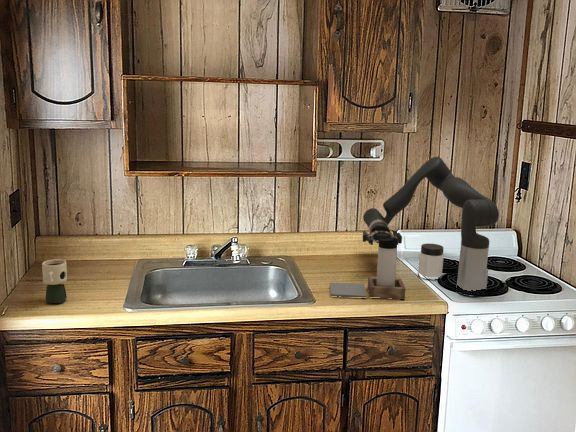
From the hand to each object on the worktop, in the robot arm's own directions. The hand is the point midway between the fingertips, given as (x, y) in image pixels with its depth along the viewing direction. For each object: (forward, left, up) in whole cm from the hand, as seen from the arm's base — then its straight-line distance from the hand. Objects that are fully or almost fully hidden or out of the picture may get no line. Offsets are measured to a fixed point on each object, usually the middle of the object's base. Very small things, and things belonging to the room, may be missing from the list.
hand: (383, 242), depth 215 cm
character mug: (+106, +33, -15) cm, 112 cm away
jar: (-19, -9, -15) cm, 26 cm away
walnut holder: (0, +12, -15) cm, 19 cm away
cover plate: (+13, +12, -15) cm, 23 cm away
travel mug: (0, +12, -15) cm, 19 cm away
